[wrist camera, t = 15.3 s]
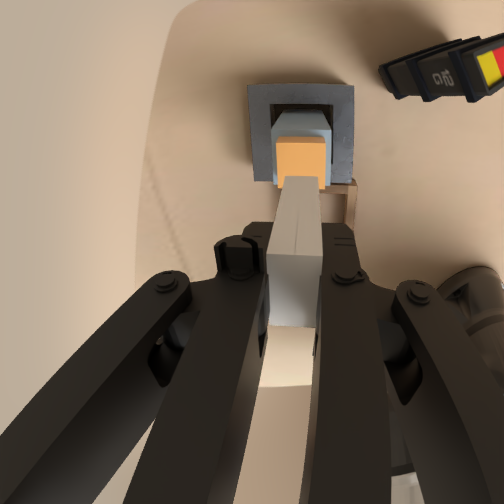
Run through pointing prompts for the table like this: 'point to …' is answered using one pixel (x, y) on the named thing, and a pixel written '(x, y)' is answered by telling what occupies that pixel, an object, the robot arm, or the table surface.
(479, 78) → the magazine
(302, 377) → the table surface
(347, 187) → the brown square frame
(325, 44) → the table surface
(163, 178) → the table surface
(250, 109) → the port
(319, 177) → the plug
